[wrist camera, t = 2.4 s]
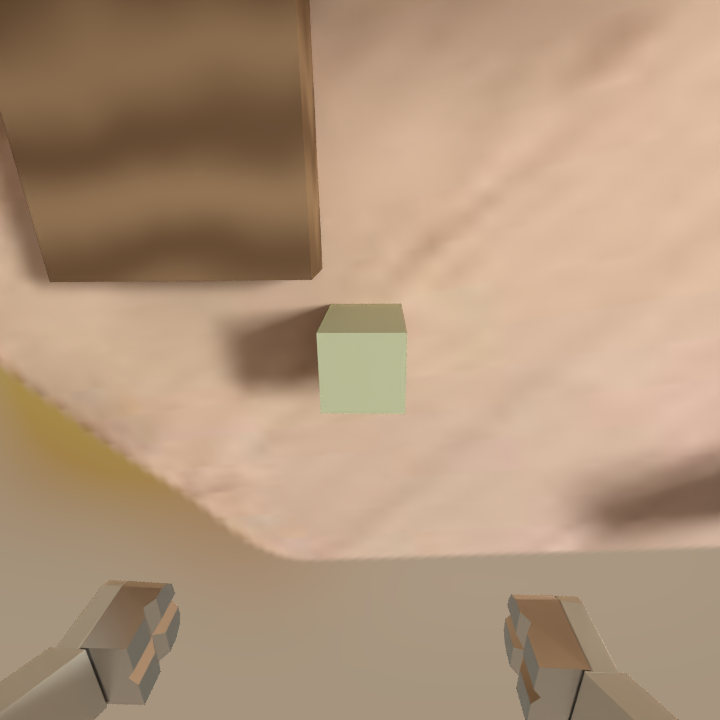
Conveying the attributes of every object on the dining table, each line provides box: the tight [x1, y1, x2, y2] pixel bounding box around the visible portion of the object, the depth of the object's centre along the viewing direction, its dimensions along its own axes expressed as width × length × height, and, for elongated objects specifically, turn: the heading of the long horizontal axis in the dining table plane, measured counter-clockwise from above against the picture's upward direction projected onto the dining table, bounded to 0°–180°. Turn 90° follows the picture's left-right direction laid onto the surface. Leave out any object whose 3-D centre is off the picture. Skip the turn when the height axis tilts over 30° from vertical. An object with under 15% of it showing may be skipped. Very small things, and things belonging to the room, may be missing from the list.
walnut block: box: [0, 0, 322, 282], centre depth 23 cm, size 16×16×5 cm
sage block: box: [316, 304, 407, 414], centre depth 26 cm, size 5×5×7 cm
